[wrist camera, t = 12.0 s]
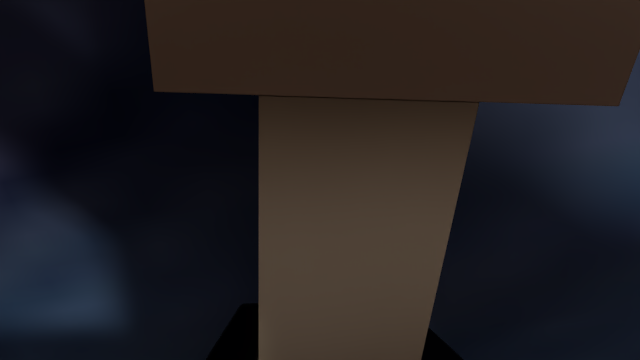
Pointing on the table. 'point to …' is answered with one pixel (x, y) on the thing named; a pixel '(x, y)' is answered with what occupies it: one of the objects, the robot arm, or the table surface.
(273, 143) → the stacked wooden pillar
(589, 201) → the table surface
